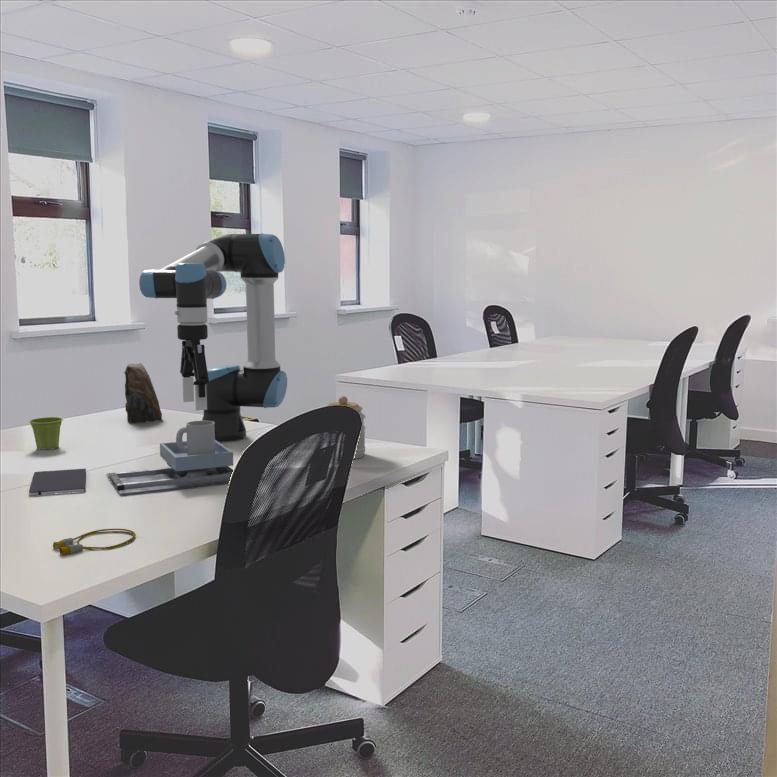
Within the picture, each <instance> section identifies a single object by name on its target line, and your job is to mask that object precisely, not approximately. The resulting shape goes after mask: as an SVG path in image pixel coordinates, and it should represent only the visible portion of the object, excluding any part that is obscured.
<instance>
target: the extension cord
mask: <svg viewBox="0 0 777 777" xmlns="http://www.w3.org/2000/svg"><path fill="white" fill-rule="evenodd" d="M109 532H113V533H118V532H121V533H122V534H129V535H132V536H131V537H130V538H129V539H128V540H126V541H123V542H120V543H118V544H114V545H109V546H83V544H82V543H81V544H80V541H81V540H82V539H83V538H85V537H87V536H90V535H95V534H107V533H109ZM121 533H120V534H121ZM135 537H136V532H135V531H133V530H131V529H127V528H103V529H96V530H93V531H89V532H86V533H83V534H81V535H79V536H76V537H74V538H72V537H69V538H63V539H60V540H59V541H54V542H53V543H52V548H53V550H58V549H59V550H58V551H59V555H61V554H62V555H61V556H62V557H64V556H67V555H73V554H76V553H79V552H81V551H83V550H84V549H85V550H88V551H91V552H92V551H96V550H112V549H116V548H119V547H120V548H121V547H123V546H125V545H128V544H130V543H132V542H133V541H134V540H135ZM76 540H77V542H76V543H77V544H74V541H76ZM70 544H71V545H70Z"/></svg>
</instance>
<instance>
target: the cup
mask: <svg viewBox="0 0 777 777" xmlns="http://www.w3.org/2000/svg"><path fill="white" fill-rule="evenodd" d="M184 434H186V441H187V446H184V445H183V435H184ZM175 436H176V437H175V442H176V443H177V446H178V448H179V449H180V450H181V451H183V452H187V456H190V455H200V454H211V453H215V422H213V421H202V420H193V421H192V420H191V421H188V422H186V425H185V426H183V427H180V428H179V429H178V430H177V432H176V435H175Z"/></svg>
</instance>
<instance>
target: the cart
mask: <svg viewBox="0 0 777 777" xmlns="http://www.w3.org/2000/svg"><path fill="white" fill-rule="evenodd" d="M182 441H183V440H182ZM183 445H184V446H187V440H184V441H183ZM159 456H160V457H161V459H162V460H164V462H166V464H167V466H168V467H172V468H173V469H174V470H175V471H177V474H178V475H179V476H180V477H185V476H186V475H187V470H194V469H204V468H214V467H216V470H217V471H218V472H219V473H224V472H225V471H226V466H229V467H232V466H234V451H232V450H231V449H229V447H226V446H225V445H223V444H222V442H218V441H216V440H215V453H211V454H200V455H190V456H187V452H183V451H181V450H180V449H179V448H178V446H177V443H176V441H171V442H160V443H159Z"/></svg>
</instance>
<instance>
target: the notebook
mask: <svg viewBox="0 0 777 777" xmlns="http://www.w3.org/2000/svg"><path fill="white" fill-rule="evenodd" d="M32 476H33V477H32V479H31V482H30V486H29V490H28V493H29V496H30V495H41V496H44V495H43V494H52V495H56V494H55V493H58V494H57V495H60V494H59V493H65V494H73V493H72V492H78V493H86V486H85V485H86V484H87V483H86V482H87V481H86V480H87V479H86V478H87V468H76V469H74V468H73V469H71V468H70V469H61V470H59V469H58V470H46V471H45V470H42V471H35V472H34V473H33V475H32ZM69 492H70V493H69Z"/></svg>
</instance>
